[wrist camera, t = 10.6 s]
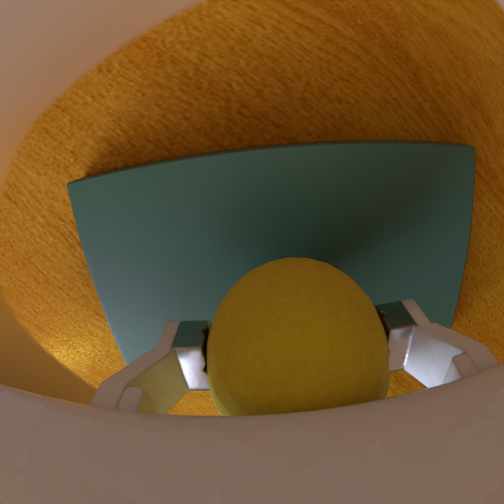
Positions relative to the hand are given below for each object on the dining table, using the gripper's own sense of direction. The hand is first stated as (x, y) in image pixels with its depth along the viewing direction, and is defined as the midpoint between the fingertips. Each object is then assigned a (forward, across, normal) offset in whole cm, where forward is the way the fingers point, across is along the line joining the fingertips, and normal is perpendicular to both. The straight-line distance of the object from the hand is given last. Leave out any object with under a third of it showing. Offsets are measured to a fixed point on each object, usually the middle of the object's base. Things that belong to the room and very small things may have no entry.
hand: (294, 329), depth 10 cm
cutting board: (+4, 0, 0) cm, 4 cm away
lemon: (+3, 0, 0) cm, 3 cm away
